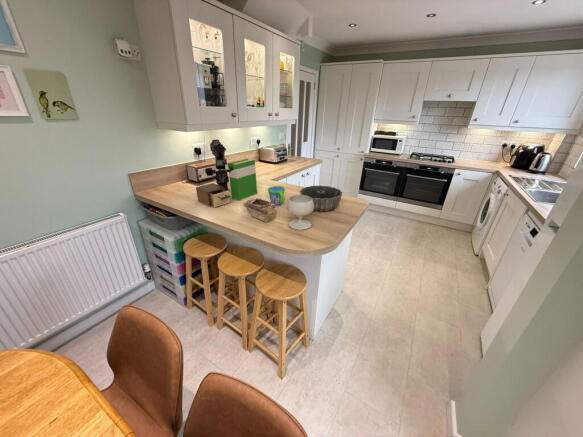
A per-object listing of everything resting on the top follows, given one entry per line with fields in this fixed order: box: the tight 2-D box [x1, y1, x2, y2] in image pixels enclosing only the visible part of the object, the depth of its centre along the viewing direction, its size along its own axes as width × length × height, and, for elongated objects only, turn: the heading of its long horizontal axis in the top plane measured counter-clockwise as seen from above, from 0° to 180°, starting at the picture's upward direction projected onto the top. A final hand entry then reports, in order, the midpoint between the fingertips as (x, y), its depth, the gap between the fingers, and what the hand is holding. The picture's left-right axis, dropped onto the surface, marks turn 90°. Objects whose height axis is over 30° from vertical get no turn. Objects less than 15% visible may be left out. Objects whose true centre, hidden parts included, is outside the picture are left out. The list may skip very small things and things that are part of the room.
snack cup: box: [267, 185, 286, 206], centre depth 150 cm, size 16×10×10 cm
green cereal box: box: [227, 158, 258, 201], centre depth 160 cm, size 18×7×24 cm, turn 145°
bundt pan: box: [299, 184, 344, 212], centre depth 145 cm, size 26×26×10 cm
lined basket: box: [242, 197, 277, 223], centre depth 131 cm, size 13×20×10 cm, turn 44°
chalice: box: [286, 194, 314, 231], centre depth 121 cm, size 14×14×15 cm
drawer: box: [209, 189, 231, 208], centre depth 149 cm, size 18×11×8 cm, turn 48°
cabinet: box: [195, 182, 225, 207], centre depth 154 cm, size 15×13×10 cm
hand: (222, 182), depth 148 cm, fingers closed
